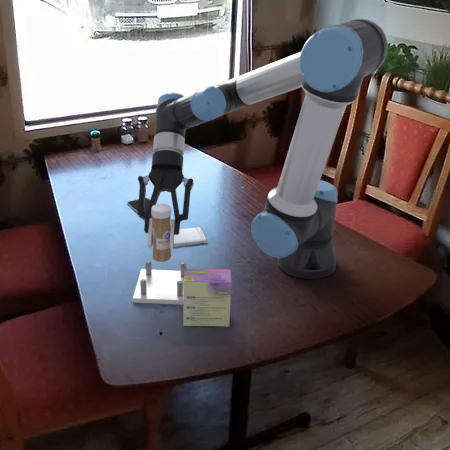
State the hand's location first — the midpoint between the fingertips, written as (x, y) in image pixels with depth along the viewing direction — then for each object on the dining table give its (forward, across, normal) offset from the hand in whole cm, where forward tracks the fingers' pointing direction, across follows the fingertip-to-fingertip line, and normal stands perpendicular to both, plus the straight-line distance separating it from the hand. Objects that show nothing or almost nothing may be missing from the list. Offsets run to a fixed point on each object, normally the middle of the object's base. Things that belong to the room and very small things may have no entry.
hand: (160, 246), depth 150 cm
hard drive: (-10, -3, -28) cm, 29 cm away
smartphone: (-21, +9, -40) cm, 46 cm away
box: (+16, -12, -1) cm, 20 cm away
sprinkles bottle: (+2, 0, -5) cm, 5 cm away
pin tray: (+8, -1, -9) cm, 12 cm away
